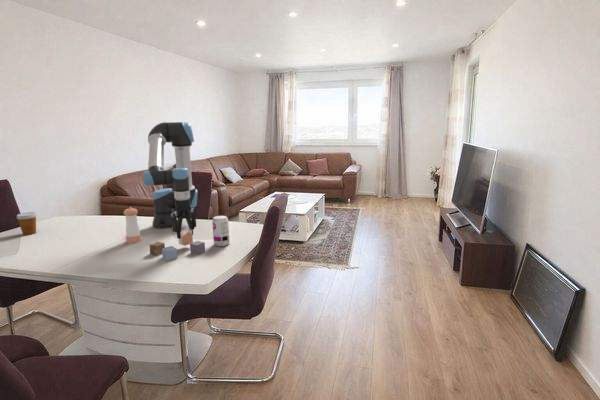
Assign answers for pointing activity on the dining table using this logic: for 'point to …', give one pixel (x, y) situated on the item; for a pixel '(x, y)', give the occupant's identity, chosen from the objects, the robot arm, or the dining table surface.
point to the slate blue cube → (169, 253)
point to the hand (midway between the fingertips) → (185, 242)
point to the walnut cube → (156, 248)
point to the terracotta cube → (187, 238)
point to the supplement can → (220, 230)
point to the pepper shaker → (132, 226)
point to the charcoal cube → (197, 247)
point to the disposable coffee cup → (27, 222)
